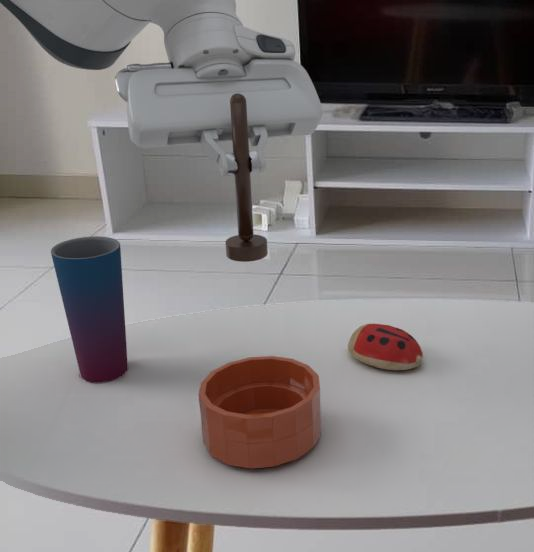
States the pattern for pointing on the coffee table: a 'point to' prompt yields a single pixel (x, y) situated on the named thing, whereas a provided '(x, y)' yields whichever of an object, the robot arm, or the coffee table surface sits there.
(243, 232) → the brown rod
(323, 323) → the coffee table surface
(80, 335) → the cup
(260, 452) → the bowl
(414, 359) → the ladybug figurine
